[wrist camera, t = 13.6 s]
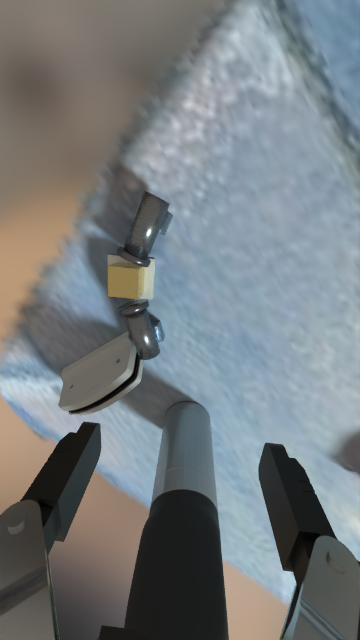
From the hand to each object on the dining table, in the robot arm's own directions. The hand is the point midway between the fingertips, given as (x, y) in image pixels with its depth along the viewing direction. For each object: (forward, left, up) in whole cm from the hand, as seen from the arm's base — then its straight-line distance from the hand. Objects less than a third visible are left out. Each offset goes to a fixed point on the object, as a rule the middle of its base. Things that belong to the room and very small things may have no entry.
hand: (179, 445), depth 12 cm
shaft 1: (+10, +7, -30) cm, 32 cm away
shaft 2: (-6, +7, -30) cm, 31 cm away
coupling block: (+2, +10, -30) cm, 31 cm away
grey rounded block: (-15, +14, -30) cm, 37 cm away
